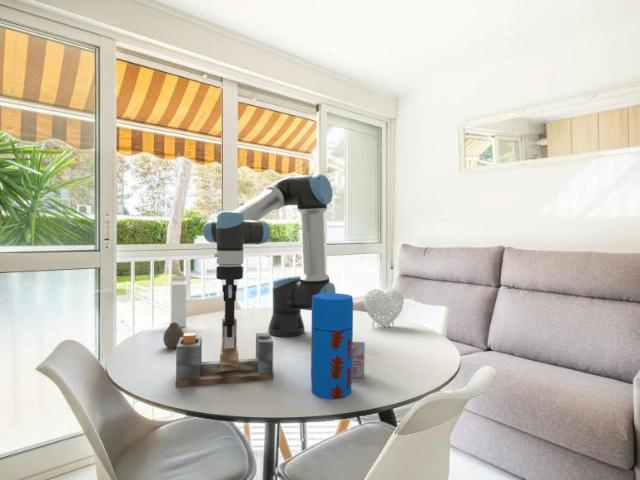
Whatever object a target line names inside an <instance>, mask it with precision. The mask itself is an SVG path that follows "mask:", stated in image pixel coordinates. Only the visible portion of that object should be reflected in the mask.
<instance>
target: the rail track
mask: <svg viewBox="0 0 640 480" xmlns="http://www.w3.org/2000/svg"><path fill="white" fill-rule="evenodd" d="M271 336H272V335H271V334H269V333H268V332H257V333H255V358H243V359H239V358H238V370H229V371H220V360H213V361H212V360H211V361H210V360H209V361H202V356H203V355H202V353H203V352H202V350H203V348H202V347H203V346H202V343H203V337H202V336H201V335H199V336H197V335H196V343H190V344H183V337H180V339H179V342H178V344H177V347H176V349H175V358H176V359H175V362H176V363H175V370H176V371H175V388H182V387H195V386H207V385H208V386H209V385H221V384H222V385H223V384H230V383H231V384H233V383H243V382H246V383H247V382H258V381H259V382H260V381H269V380H270V381H272V380H274V371H273V370H274V369H273V368H274V363H273V362H274V341H273V338H272V337H271Z"/></svg>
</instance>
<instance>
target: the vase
mask: <svg viewBox="0 0 640 480" xmlns="http://www.w3.org/2000/svg"><path fill="white" fill-rule="evenodd" d="M184 333H185V332H184V331H183V329H182V327H180V326H179V325H178V323H176V322H174V323H171V322H170V324H169V326H168V327H167V328H166V329H165V331H164V334H163V343H164V346H165V347H166V348H167V349H169V350H176V347H177V344H178V342H179V339H180V337H183V335H184Z"/></svg>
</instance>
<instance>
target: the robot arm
mask: <svg viewBox="0 0 640 480" xmlns="http://www.w3.org/2000/svg"><path fill="white" fill-rule="evenodd" d="M332 200H333V188H332V185H331V183H330V180H329V179H328V178H327V176H325V175H324V174H321V173H320V174H319V173H316V174H314V173H313V174H302V175H290V176H286V177H283V178H282V179H279V180H277V181H275V182H274V183H272V184H270V185H268V186H266V187H265V188H264V190H263V192H262V193H261V194H259V195H257V196H255V197H254V198H253V199H250V200H249V201H248V202H246V203H245V204H243V205H241V206H240V207H238V208H236V209H235V210H234V211H220V212H218V214H217V217H216V219H212V220H208V221H207V222H206V223H204V226H203V229H202V233H203V236H204V239H205V240H206V241H207V242H209V243H212V244H213V243H214V244H216V253H214V255H213V257H215V258H216V264H217V266H216V271H215V275H216V279H217V280H222V281H223V280H224V281H225V284H222V293H223V295H222V296H223V302H224V317H223V318H225V324H222V323H221V326H225V338H224V349H226V348H234V324H235V322H234V318H235V303H236V300H237V290H238V286H237V284H235V281H237V280H241V279H243V278H244V267H243V265H244V245H261V244H265V243H267V242H268V241H269V240H270V237H271V227H270V226H269V224H268V223H267V222H265V221H264V220H261V219H262V218H264V217H265V216H266V215H268V214H269V213H271V212H272V211H274V210H279V209H281V208H283V207H285V206H286V207H287V206H297V208H296V209H297V210H298V212H299V213H300V214H301V232H302V234H301V235H302V237H301V238H302V256H303V257H302V261H303V262H302V263H303V274H302V275H301V276H288V277H287V276H286V277H281V278H276V279H274V281H273V284H272V316H271V319H270V322H269V325H268V331H267V333H269V334H270V336H275V337H296V336H302V335H304V333H305V330H306V329H305V325H304V320H303V318H302V315H301V310H303V311H304V310H305V311H312V297H313V295H316V294H323V293H336V287H335V284H334V283H332V282H330V276H329V275H328V274H327V273H326V259H325V258H326V255H325V254H326V253H325V251H326V250H325V227H324V225H325V223H324V213H325V212H326V210H327V209H328V205H329V204H331V202H332Z"/></svg>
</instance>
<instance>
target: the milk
mask: <svg viewBox="0 0 640 480" xmlns="http://www.w3.org/2000/svg"><path fill="white" fill-rule="evenodd" d="M170 287H171V292H170V293H171V294H170V296H171V297H170V323H174V322H176V323H178V325H179V326H180V328H186V327H187V277H186V276H185V275H183V276H177V275H176V276H171V284H170Z"/></svg>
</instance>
